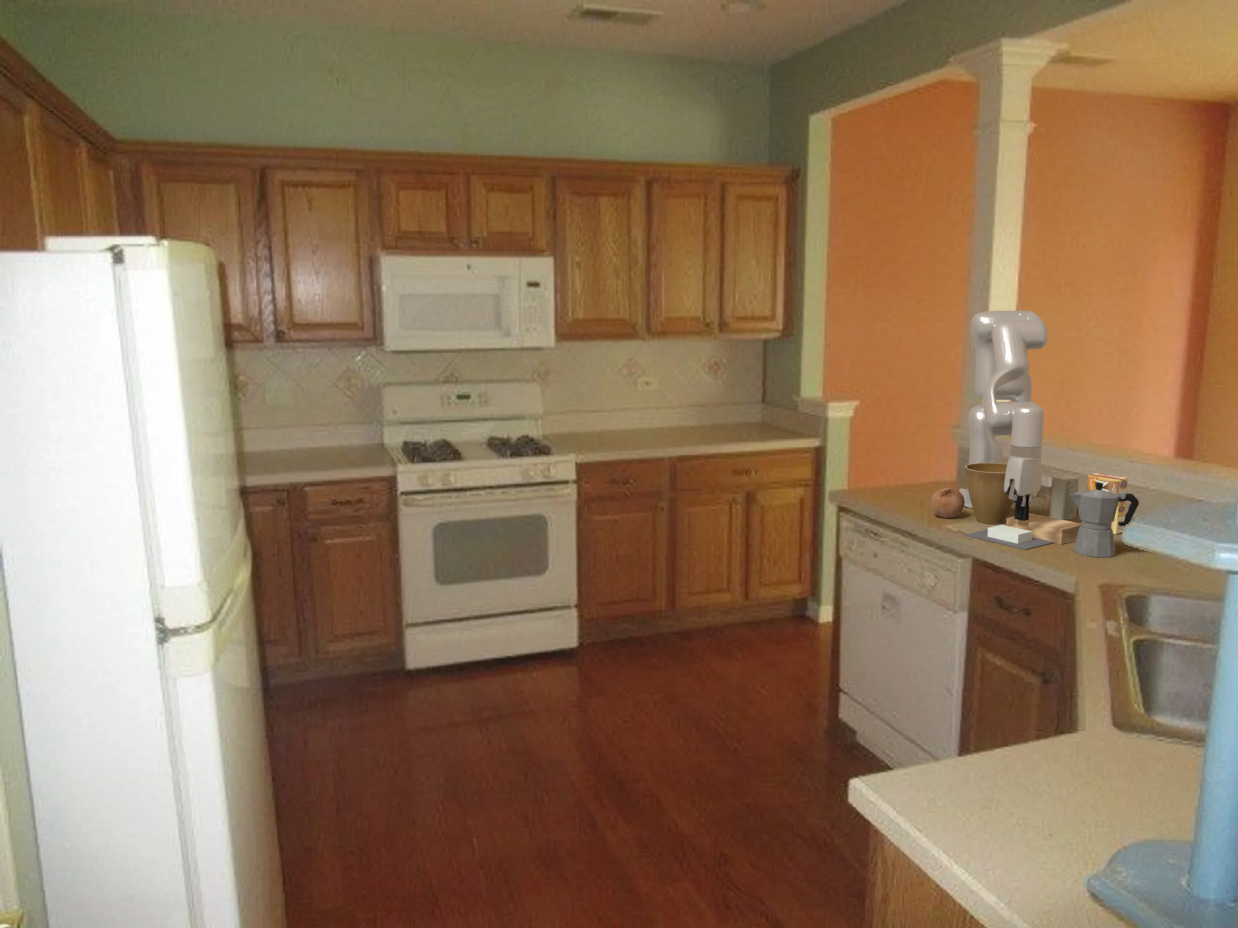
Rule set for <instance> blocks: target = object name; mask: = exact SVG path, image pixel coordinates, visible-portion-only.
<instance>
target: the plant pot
mask: <svg viewBox="0 0 1238 928" xmlns="http://www.w3.org/2000/svg"><path fill="white" fill-rule="evenodd" d="M964 467H965V476H966V477H965V478H966V484H967V489H968V491H969V496H970V500H971V504H972V508H971V509H972V510H973V514H974V517H975V519H976V521H977V522H978V523H980V524H986V525H1003V524H1004V523H1006V522H1005V521H1007V518H1008V515H1009V513H1010V511H1011V509H1012V505H1014V501H1013V500H1009V494H1006V493H1005V492H1004V481H1005V474H1006V468H1007V463H1003V462H1002V463H974V464H969V463H968V464H966V465H965V466H964Z"/></svg>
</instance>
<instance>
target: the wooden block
mask: <svg viewBox="0 0 1238 928" xmlns="http://www.w3.org/2000/svg"><path fill="white" fill-rule="evenodd" d="M1005 524H1006V526H1010V527H1015V528H1019V529H1024V530H1028V531H1032V537H1034V538H1039V539H1043V540H1048V541H1052V542H1054V543H1053V544H1056V545H1060V546H1061V545H1066V544H1069V543H1074V542H1076V539H1077V535H1078V532H1079V528H1080V526H1081V522H1074V521H1070V520H1061V519H1056V518H1051V517H1050V516H1046V515H1045V516H1044V515H1040V514H1035V513H1030V512H1029V520H1026V521H1022V520H1017V519H1015V518H1014V516H1009V517H1007V518H1006V523H1005ZM1065 543H1066V544H1065Z"/></svg>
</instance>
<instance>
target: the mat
mask: <svg viewBox="0 0 1238 928" xmlns="http://www.w3.org/2000/svg"><path fill="white" fill-rule="evenodd" d="M987 535H988V528H987V529H985V530H978V531H975V532H974V531H973V532H971V533H970V532H969V533H966V534H965V536H967V537H970V538H974V539H977V540H983V541H987V542H991V543H995V544H999V545H1004V546H1007V547H1013V548H1016V549H1019V550H1020V549H1021V550H1022V551H1023V550H1025V551H1028V550H1032V549H1035V548H1040V547H1043V546H1048V545H1051V544H1055V543H1054V542H1052V541H1048V540H1043V539H1039V538H1034V537H1032V540H1031V541H1027V542H1023V543H1018V544H1017V543H1013V542H1009V541H1004V540H1000V539H996V538H992V537H987Z"/></svg>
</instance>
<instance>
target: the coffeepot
mask: <svg viewBox="0 0 1238 928" xmlns="http://www.w3.org/2000/svg"><path fill="white" fill-rule="evenodd" d="M1102 487H1103V483H1100V482H1099V483H1096V488H1097V489H1096V490H1081V491H1078V492H1075V493H1070V494H1069V496H1070V497H1072V499H1073V500H1074V502H1075V504H1076V506H1077V509H1078V515H1079V517H1078V518H1079V519H1080V520H1081V522H1080V524H1081V526H1080V528H1079V532H1078V535H1077V539H1076V541H1075V543H1074V546H1073V552H1074V553H1076V554H1077V553H1079V554H1078V555H1080V554H1081V555H1080V556H1083V555H1086V556H1085V557H1088V556H1090V557H1089V558H1097V559H1098V558H1099V559H1100V558H1102V559H1103V558H1104V559H1105V558H1106V559H1107V557H1108V558H1112V557H1114V556H1115V554H1116V549H1115V548H1116V547H1115V541H1114V539H1115V538H1114V534H1113V530H1112V529H1111V524H1112V522H1113V521H1114V518H1115V514H1116V510H1117V506H1118V502H1119V501H1126V502H1130V504H1129V506H1128V509H1127V512H1125V520H1124V522H1118V524H1119V526H1124V527H1126V526H1125V525H1126V524H1128V523H1129V522H1130V523H1131V520H1132V518H1133V516H1134V514H1135V513H1136V510H1137V509H1138V507H1139V504H1140V500H1139V499H1138V498H1137V497H1136V496H1135V494H1133V493H1126V494H1125V493H1115V494H1114V493H1111V492H1108V491H1104V490H1102ZM1130 523H1129V524H1130ZM1129 524H1128V525H1129ZM1111 556H1112V557H1111Z"/></svg>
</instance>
